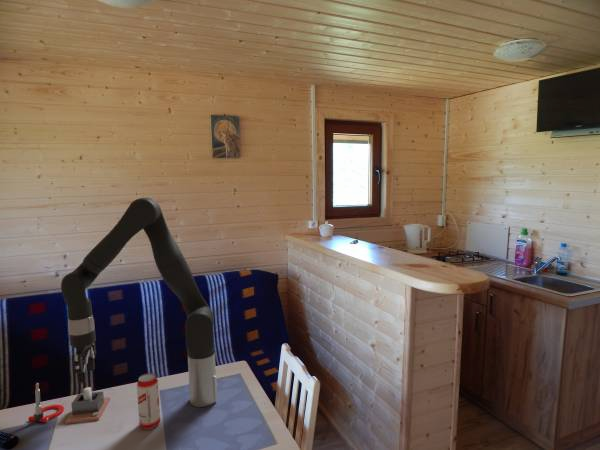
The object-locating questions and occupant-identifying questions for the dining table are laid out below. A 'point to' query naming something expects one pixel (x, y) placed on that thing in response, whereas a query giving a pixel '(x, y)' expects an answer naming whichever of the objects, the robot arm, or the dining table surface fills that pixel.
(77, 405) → the grey hollow block
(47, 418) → the tow hook
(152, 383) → the beer can
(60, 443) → the dining table surface
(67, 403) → the dining table surface
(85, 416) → the keeper plate
